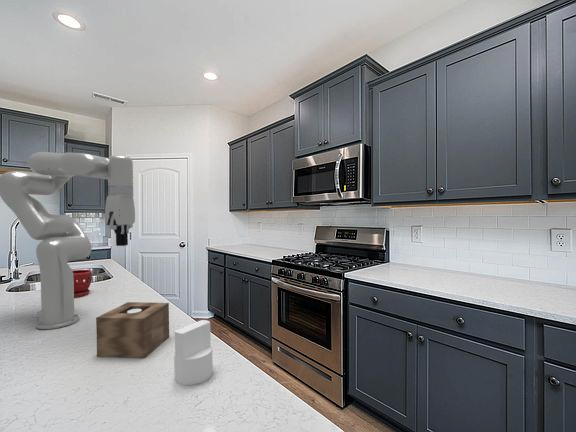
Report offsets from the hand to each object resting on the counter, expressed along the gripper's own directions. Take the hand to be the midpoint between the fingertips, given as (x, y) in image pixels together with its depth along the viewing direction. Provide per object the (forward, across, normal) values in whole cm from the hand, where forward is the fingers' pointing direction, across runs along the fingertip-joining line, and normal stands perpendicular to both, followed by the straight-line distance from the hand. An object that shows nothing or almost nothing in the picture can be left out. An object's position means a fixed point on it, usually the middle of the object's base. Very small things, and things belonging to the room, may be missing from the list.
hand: (122, 245), depth 101 cm
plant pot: (+29, -39, -51) cm, 71 cm away
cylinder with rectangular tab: (+29, +26, +36) cm, 53 cm away
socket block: (+29, +12, +12) cm, 34 cm away
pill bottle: (+28, +12, +12) cm, 33 cm away
